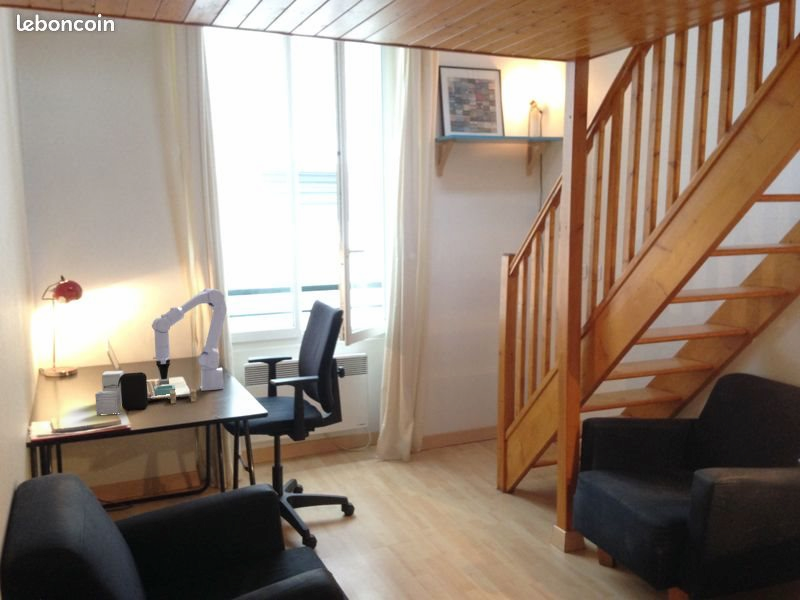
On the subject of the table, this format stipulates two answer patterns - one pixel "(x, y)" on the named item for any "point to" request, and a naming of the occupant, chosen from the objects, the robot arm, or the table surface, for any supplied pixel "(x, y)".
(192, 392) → the wooden pieces
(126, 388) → the black rounded piece
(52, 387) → the table surface
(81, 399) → the table surface
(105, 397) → the medicine box
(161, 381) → the plug
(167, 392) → the port
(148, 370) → the table surface
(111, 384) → the supplement box
